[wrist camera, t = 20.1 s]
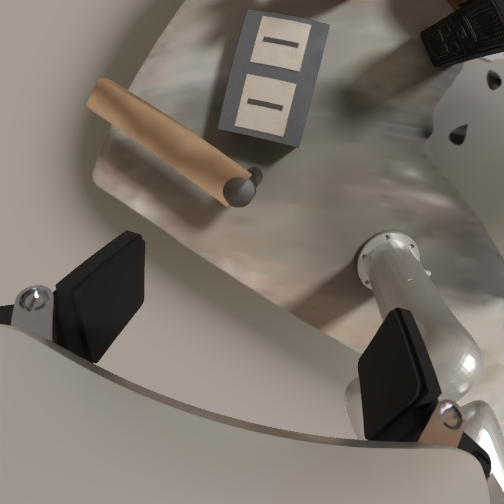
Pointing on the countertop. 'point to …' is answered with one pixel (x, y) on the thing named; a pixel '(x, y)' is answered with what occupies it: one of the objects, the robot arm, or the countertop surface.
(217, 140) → the countertop surface
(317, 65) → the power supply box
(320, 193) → the countertop surface
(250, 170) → the post
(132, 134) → the swing arm
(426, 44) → the portable radio
